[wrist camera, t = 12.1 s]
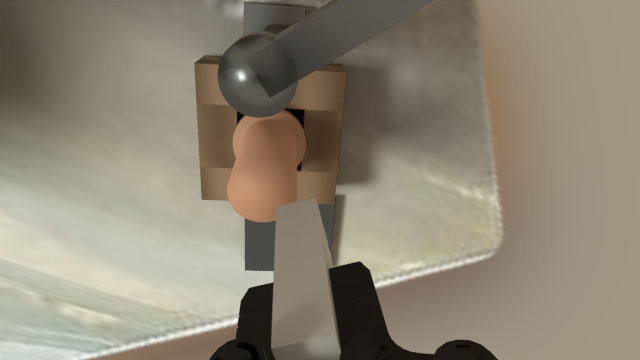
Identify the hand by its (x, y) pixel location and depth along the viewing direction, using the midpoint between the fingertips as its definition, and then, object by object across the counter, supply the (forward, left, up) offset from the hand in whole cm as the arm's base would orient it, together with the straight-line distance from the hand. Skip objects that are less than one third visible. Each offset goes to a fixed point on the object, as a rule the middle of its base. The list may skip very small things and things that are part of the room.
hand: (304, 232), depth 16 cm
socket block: (-2, -1, -24) cm, 24 cm away
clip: (+3, +8, -9) cm, 12 cm away
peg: (-2, -4, -24) cm, 25 cm away
